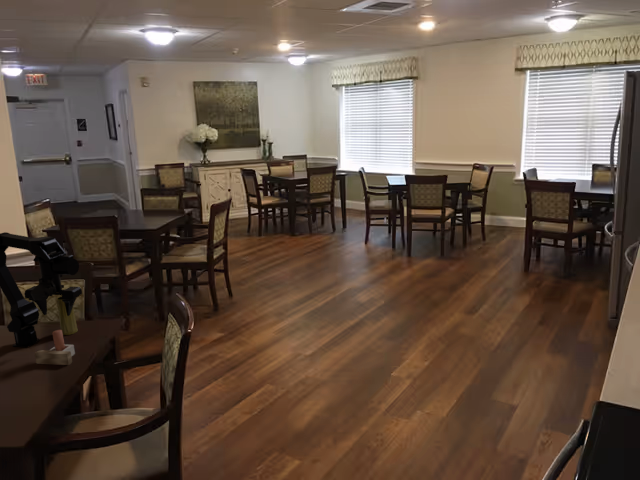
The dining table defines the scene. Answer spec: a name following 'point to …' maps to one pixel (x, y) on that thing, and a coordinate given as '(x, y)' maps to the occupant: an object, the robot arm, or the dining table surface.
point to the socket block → (66, 349)
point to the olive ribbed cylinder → (66, 318)
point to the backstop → (53, 357)
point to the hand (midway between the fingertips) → (57, 315)
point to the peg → (58, 340)
